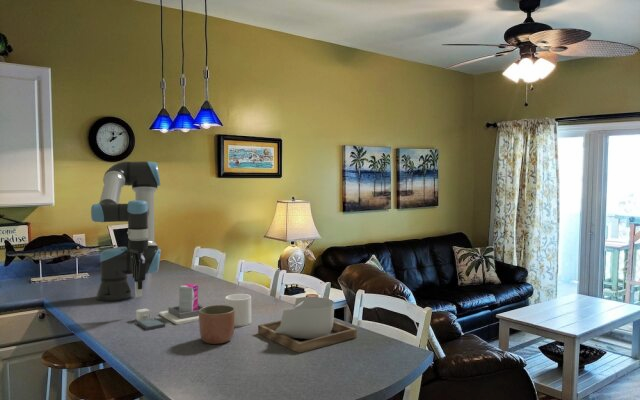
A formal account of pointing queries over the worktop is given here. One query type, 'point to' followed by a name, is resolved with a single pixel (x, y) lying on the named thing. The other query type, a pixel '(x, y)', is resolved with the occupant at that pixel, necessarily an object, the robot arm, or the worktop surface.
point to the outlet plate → (180, 315)
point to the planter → (216, 323)
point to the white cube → (142, 314)
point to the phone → (150, 323)
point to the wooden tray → (342, 335)
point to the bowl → (308, 318)
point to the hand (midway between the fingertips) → (139, 296)
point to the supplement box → (188, 298)
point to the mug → (240, 308)
